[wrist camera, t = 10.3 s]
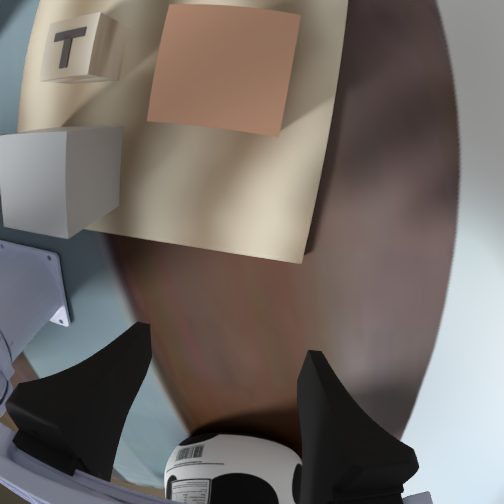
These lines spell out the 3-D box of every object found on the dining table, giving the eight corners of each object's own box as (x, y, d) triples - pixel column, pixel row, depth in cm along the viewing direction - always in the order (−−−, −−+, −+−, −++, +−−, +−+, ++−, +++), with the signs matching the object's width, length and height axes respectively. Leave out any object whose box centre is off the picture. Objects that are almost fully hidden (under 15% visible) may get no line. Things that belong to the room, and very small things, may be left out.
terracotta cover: (185, 122, 17) (146, 121, 11) (200, 40, 15) (169, 4, 9) (275, 134, 18) (278, 137, 12) (290, 50, 15) (301, 15, 9)
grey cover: (59, 198, 20) (3, 226, 14) (60, 126, 17) (-1, 135, 12) (119, 205, 20) (68, 239, 14) (123, 126, 18) (66, 131, 12)
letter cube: (73, 84, 16) (37, 81, 12) (82, 34, 15) (49, 23, 11) (119, 80, 16) (87, 74, 13) (128, 28, 15) (100, 11, 11)
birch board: (26, 215, 21) (19, 218, 21) (48, -1, 13) (41, -4, 13) (300, 257, 22) (301, 263, 21) (346, -9, 14) (349, -15, 13)
